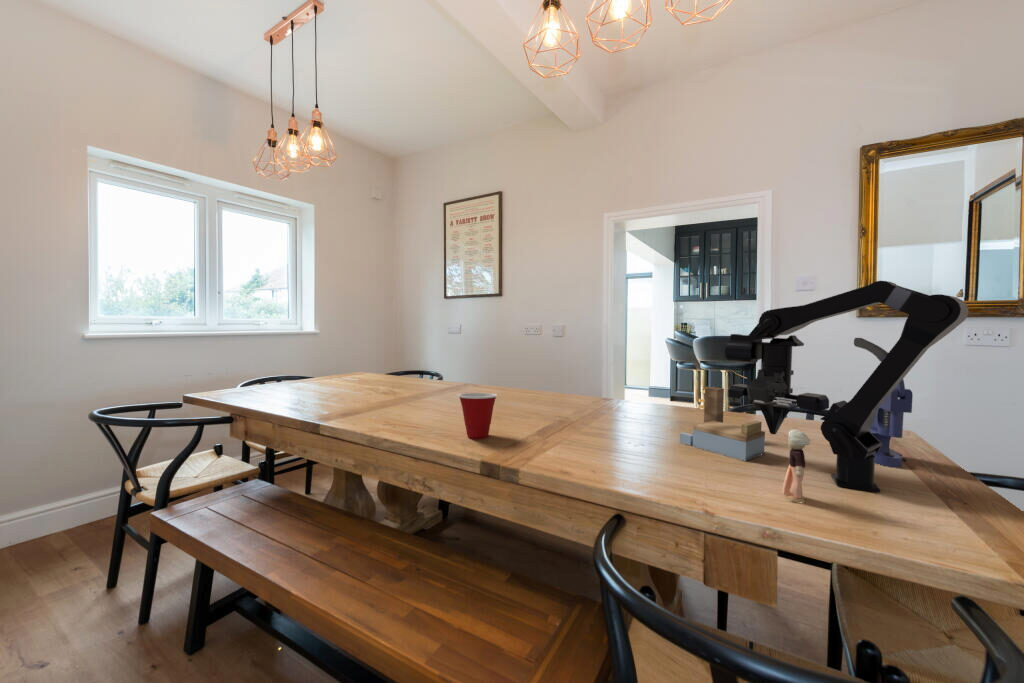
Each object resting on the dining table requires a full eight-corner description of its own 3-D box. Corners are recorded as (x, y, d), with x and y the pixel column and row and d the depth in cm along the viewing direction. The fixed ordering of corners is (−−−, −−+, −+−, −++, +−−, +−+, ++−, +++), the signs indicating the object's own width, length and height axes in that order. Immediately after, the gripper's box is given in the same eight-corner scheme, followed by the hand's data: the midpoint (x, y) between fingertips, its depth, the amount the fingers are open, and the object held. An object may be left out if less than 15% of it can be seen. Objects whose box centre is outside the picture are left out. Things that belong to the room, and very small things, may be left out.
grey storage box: (764, 454, 97) (764, 436, 97) (745, 461, 92) (745, 442, 92) (698, 437, 111) (699, 421, 111) (679, 442, 106) (679, 426, 106)
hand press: (923, 472, 86) (930, 341, 85) (873, 467, 88) (880, 340, 87) (871, 445, 104) (876, 337, 103) (831, 442, 106) (836, 337, 105)
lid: (764, 435, 97) (765, 421, 97) (745, 441, 92) (746, 426, 92) (712, 424, 108) (712, 411, 108) (693, 429, 103) (693, 415, 103)
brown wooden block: (722, 436, 112) (724, 388, 111) (715, 438, 110) (717, 389, 109) (710, 433, 115) (711, 386, 114) (703, 435, 113) (704, 387, 112)
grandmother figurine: (776, 489, 77) (779, 423, 76) (800, 492, 75) (803, 425, 75) (787, 506, 70) (790, 434, 69) (814, 510, 68) (817, 437, 68)
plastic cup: (497, 430, 117) (497, 389, 116) (496, 441, 106) (496, 397, 106) (460, 430, 117) (460, 389, 116) (455, 442, 106) (455, 397, 106)
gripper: (715, 363, 94) (713, 429, 95) (809, 372, 78) (805, 451, 79) (740, 361, 100) (738, 423, 101) (831, 369, 84) (828, 442, 85)
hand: (773, 433), depth 91 cm, fingers closed
